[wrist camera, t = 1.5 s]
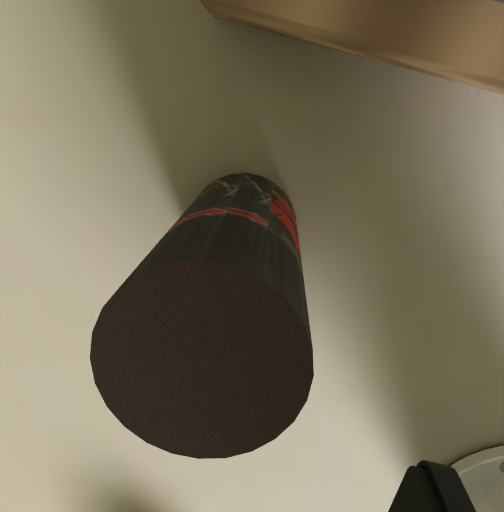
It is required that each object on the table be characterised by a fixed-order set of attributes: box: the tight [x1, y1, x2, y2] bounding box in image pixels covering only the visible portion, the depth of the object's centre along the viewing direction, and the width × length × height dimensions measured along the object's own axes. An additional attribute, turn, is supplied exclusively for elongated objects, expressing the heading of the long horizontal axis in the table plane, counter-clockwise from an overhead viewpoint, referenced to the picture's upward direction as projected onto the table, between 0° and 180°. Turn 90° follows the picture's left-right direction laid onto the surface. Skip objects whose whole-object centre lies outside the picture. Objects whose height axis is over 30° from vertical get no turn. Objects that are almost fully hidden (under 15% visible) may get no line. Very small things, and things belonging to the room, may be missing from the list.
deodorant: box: [90, 173, 314, 459], centre depth 20 cm, size 6×6×15 cm
